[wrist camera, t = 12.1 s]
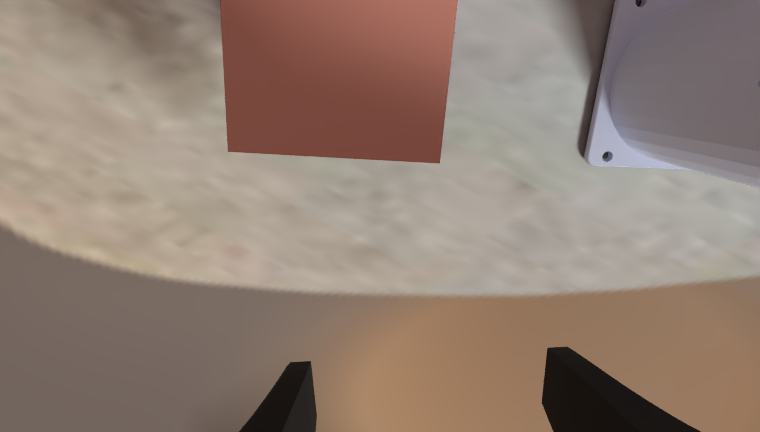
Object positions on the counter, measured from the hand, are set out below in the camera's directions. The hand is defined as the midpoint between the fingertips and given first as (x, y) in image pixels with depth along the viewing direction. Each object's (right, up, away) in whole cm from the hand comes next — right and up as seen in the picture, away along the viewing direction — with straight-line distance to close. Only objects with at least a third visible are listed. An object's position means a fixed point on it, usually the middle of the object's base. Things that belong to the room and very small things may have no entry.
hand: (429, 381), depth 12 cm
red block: (-3, +10, 0) cm, 10 cm away
